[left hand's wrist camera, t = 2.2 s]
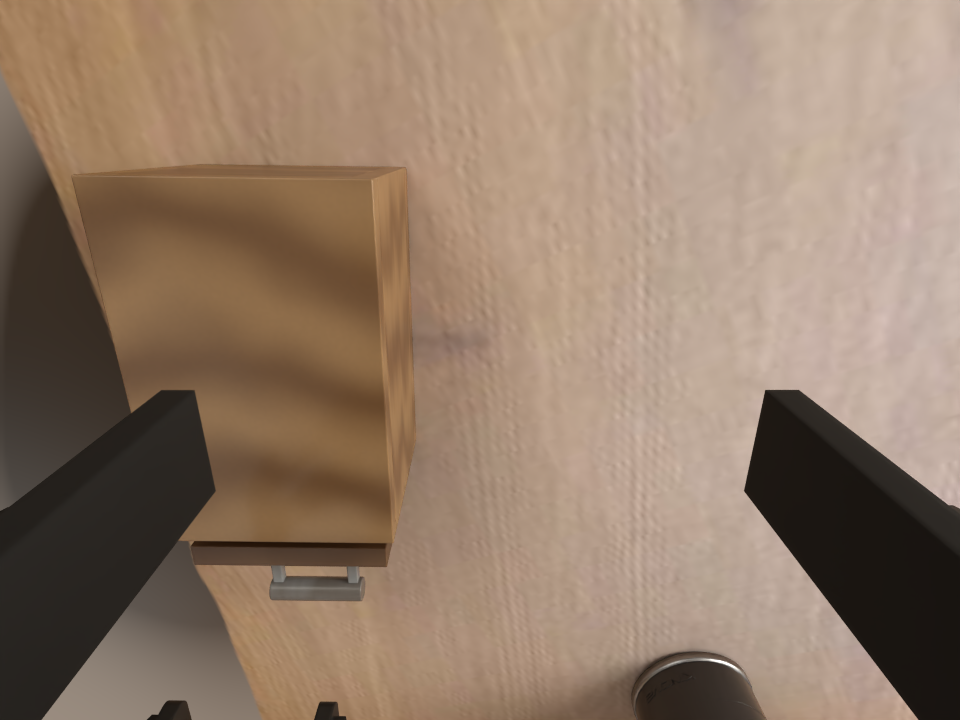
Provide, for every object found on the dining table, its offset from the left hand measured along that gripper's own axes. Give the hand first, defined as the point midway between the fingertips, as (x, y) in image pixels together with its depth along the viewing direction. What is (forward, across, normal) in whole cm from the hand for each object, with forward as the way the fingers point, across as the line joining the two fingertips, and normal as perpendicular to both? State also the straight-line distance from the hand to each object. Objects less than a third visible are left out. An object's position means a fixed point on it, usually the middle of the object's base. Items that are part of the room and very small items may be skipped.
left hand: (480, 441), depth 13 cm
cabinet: (+20, -10, -3) cm, 23 cm away
